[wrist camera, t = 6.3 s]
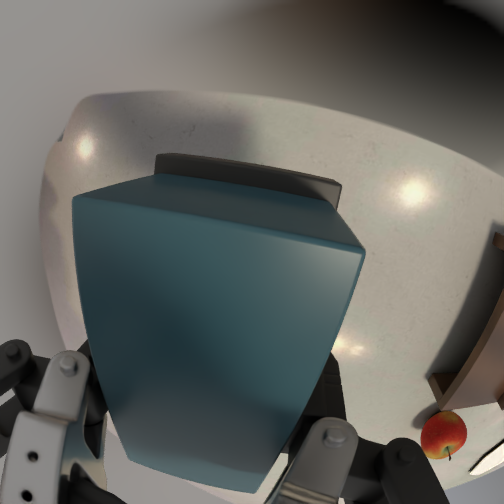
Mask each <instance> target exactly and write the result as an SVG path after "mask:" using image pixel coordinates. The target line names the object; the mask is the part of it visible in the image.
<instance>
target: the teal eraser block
mask: <svg viewBox="0 0 504 504" xmlns="http://www.w3.org/2000/svg"><path fill="white" fill-rule="evenodd" d="M341 190H342V185H341V184H340V183H338V182H336V181H335V180H333V179H329V178H324V177H320V176H315V175H311V174H306V173H301V172H296V171H291V170H286V169H281V168H276V167H270V166H264V165H259V164H253V163H247V162H240V161H234V160H227V159H220V158H212V157H204V156H196V155H187V154H178V153H167V154H158V155H156V161H155V170H154V175H151V176H147V177H142V178H138V179H134V180H130V181H126V182H122V183H118V184H115V185H111V186H107V187H104V188H100V189H96V190H93V191H90V192H86V193H83V194H80V195H77V196H74V197H73V199H72V227H73V243H74V256H75V266H76V274H77V282H78V289H79V296H80V302H81V308H82V313H83V319H84V324H85V329H86V333H87V338H88V342H89V346H90V351H91V355H92V358H93V362H94V366H95V370H96V373H97V376H98V380H99V383H100V386H101V390H102V393H103V396H104V399H105V402H106V405H107V407H108V410H109V413H110V416H111V418H112V421H113V424H114V426H115V429H116V431H117V434H118V436H119V439H120V441H121V443H122V445H123V448H124V450H125V452H126V455H127V457H128V459H129V460H131V461H133V462H136V463H138V464H141V465H144V466H146V467H149V468H152V469H154V470H158V471H160V472H163V473H166V474H170V475H173V476H176V477H179V478H182V479H186V480H190V481H193V482H197V483H201V484H205V485H209V486H214V487H218V488H223V489H228V490H234V491H239V492H246V493H252V494H254V493H256V492H257V490H258V489H259V487H260V485H261V484H262V482H263V481H264V479H265V478H266V476H267V474H268V473H269V471H270V470H271V468H272V466H273V465H274V463H275V461H276V460H277V458H278V456H279V455H280V453H281V451H282V449H283V448H284V446H285V444H286V442H287V440H288V439H289V437H290V435H291V433H292V431H293V429H294V428H295V426H296V424H297V422H298V420H299V418H300V416H301V414H302V412H303V410H304V408H305V406H306V404H307V402H308V400H309V398H310V396H311V394H312V392H313V390H314V388H315V386H316V383H317V381H318V379H319V377H320V375H321V373H322V370H323V368H324V366H325V364H326V361H327V359H328V357H329V354H330V352H331V350H332V347H333V345H334V342H335V340H336V337H337V335H338V332H339V330H340V327H341V325H342V322H343V320H344V317H345V314H346V312H347V309H348V306H349V303H350V301H351V298H352V295H353V292H354V289H355V286H356V283H357V280H358V277H359V274H360V271H361V268H362V265H363V262H364V259H365V255H366V252H365V248H364V247H363V246H362V244H361V243H360V241H359V240H358V239H357V237H356V236H355V235H354V233H353V232H352V231H351V229H350V228H349V227H348V225H347V224H346V223H345V221H344V220H343V219H342V217H341V216H340V215H339V213H338V212H337V208H338V203H339V199H340V194H341Z"/></svg>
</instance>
